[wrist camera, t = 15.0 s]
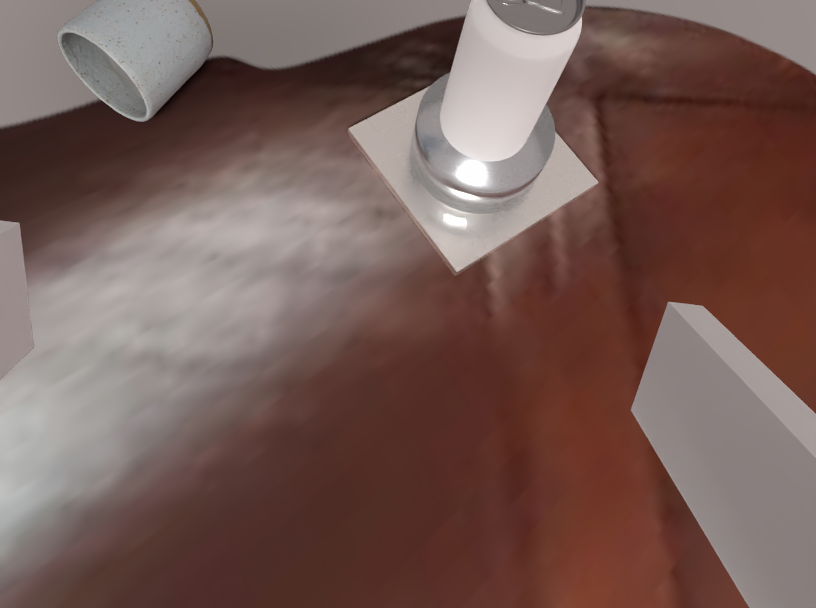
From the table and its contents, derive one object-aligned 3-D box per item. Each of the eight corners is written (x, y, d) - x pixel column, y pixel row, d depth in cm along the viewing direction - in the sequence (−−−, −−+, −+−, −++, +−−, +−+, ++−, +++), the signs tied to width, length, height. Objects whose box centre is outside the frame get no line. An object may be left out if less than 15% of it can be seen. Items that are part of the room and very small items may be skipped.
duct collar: (347, 134, 49) (349, 94, 45) (487, 61, 53) (502, 18, 49) (454, 276, 46) (468, 248, 42) (594, 187, 50) (620, 153, 46)
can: (444, 79, 46) (483, -66, 35) (531, 97, 47) (596, -40, 36) (432, 154, 44) (469, 25, 33) (523, 173, 44) (590, 51, 33)
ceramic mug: (228, 66, 50) (209, -13, 43) (161, 139, 47) (130, 67, 40) (117, 4, 51) (82, -84, 44) (46, 72, 48) (-5, -10, 41)
